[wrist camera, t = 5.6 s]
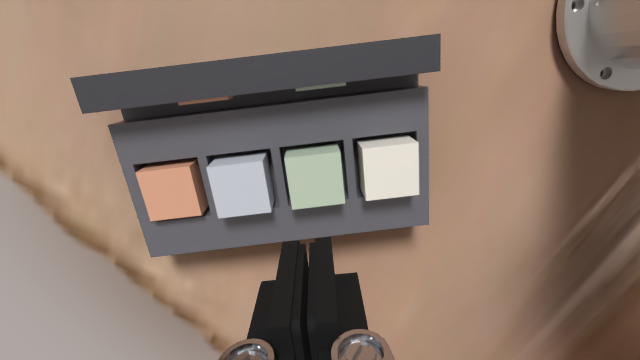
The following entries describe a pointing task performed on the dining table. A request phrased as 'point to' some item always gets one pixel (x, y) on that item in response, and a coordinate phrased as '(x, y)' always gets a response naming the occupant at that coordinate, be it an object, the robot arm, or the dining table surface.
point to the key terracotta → (173, 189)
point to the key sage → (314, 176)
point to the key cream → (388, 167)
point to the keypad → (271, 132)
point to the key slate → (241, 185)
